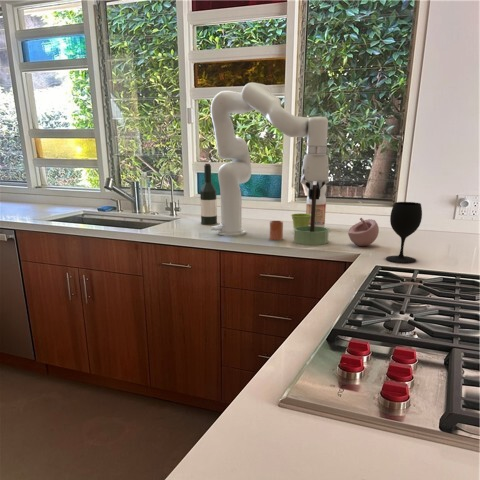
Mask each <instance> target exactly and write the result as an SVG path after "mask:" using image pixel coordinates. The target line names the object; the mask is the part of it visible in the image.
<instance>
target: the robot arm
mask: <svg viewBox="0 0 480 480" xmlns="http://www.w3.org/2000/svg"><path fill="white" fill-rule="evenodd" d="M252 111H256V112H258V113H259V114H261V115H262V116H264V117H265V118H266V119H267V120H268V122H269V123H270V124H271V125H272V126H273V127H274V128H275V129H277V130H278V131H279V132H281V133H282V134H284V135H286V136H288V137H290V138H306V139H307V140H306V141H307V142H306V143H307V144H306V154H304V156H303V161H302V165H301V176H300V177H301V179H300V184H302V185H304V186H305V187H306V188H308V189H309V191H307V196H308V197H309V199H311V200H313V199H314V189H313V181H317V184H316V185H317V195H316V199H319V197H320V189H321V188H322V187H323V186H324V185H325V184H326V185H327V184H329V183H330V178H329V173H330V172H329V171H330V168H329V167H330V165H329V155H328V154H327V153H328V152H330V147H328V146H327V145H328V130H329V129H328V128H329V119H328V117H326V116H311V117H306V116H297V115H294V114H292V113H291V112H289V111H288V110H286V109H285V108H284V107H282V101H281V99H280V98H279V97H278V96H276V95H275V94H273V93H272V91H271V88H270V87H269V86H268V85H266V84H264V83H259V82H248V83H246V84H245V85H244V86H243V88H242V90H241V92H238V91H232V90H222V91H219V92H218V93H217V94H215V95H214V97H213V98H212V100H211V104H210V117H211V122H212V125H213V131H214V137H215V138H214V139H215V143H216V144H215V145H216V151H217V155H218V156H219V157H220V159H222V160H231V161H230V162H225V163H223V164H222V165H220V167H219V168H218V171H217V179H218V183H219V189H220V190H219V191H220V192H219V193H220V196H219V197H220V223H219V224H218V225H210V231H215V232H216V231H217V235H219V236H241V235H244V234H245V233H246V230H243V228H242V227H243V226H242V224H243V223H242V215H243V214H242V211H243V209H242V207H243V205H242V199H243V198H242V190H241V186H240V185H241V184H245V183H247V182H248V181H250V179H251V177H252V165H251V164H252V163H251V156H250V151H249V146H248V143H247V141H246V140H245V139H244V138H242V137H240V136H236V134H235V129H234V124H233V121H232V119H231V116H230V114H236V115H243V114H247V113H249V112H252ZM322 181H323V182H322Z"/></svg>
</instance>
